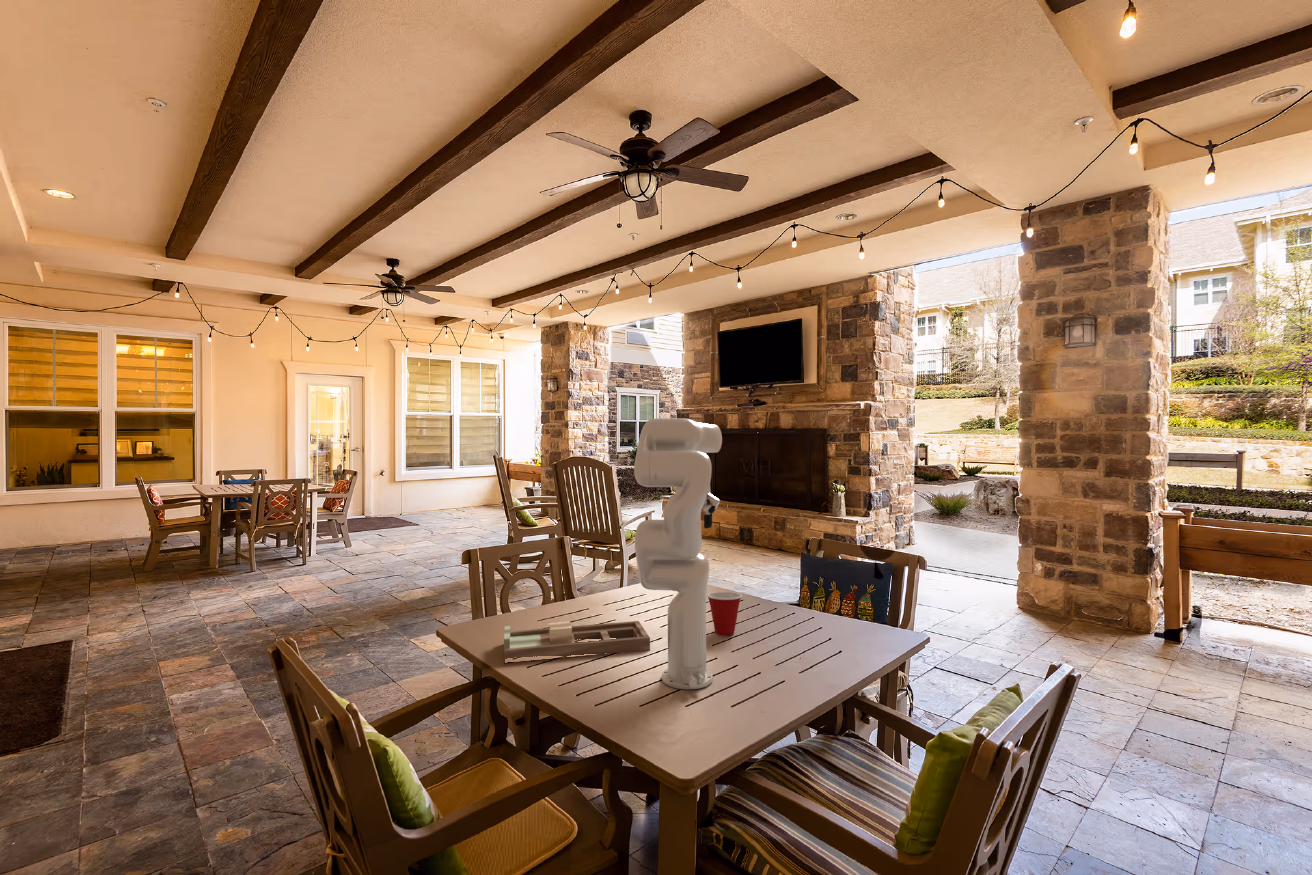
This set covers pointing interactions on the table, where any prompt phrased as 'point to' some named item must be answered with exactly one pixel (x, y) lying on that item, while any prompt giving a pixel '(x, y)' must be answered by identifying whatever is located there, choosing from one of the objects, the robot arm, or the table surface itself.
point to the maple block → (560, 632)
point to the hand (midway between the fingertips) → (694, 526)
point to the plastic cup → (724, 611)
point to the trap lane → (538, 641)
